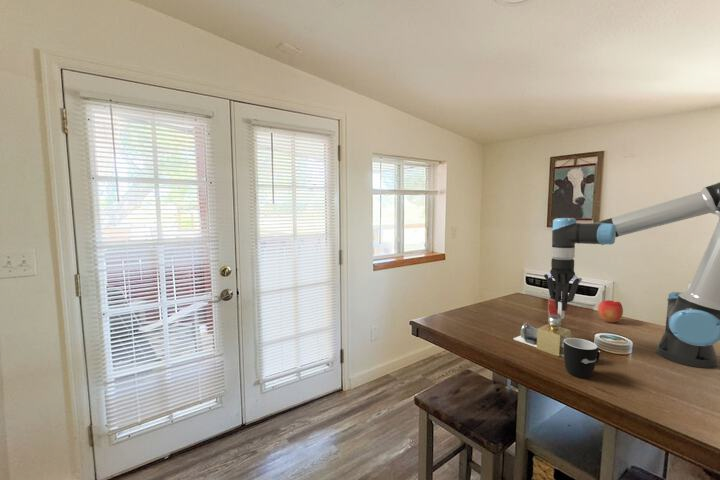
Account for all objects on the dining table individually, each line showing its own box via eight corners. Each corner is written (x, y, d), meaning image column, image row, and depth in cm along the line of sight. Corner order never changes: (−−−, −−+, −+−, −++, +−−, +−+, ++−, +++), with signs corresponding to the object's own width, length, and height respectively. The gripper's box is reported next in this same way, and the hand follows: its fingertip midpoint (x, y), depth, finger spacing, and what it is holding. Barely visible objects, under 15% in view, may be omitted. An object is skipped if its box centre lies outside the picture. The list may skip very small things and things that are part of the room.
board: (600, 352, 122) (600, 351, 122) (581, 363, 114) (582, 362, 113) (533, 331, 142) (533, 330, 142) (513, 339, 134) (513, 338, 134)
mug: (579, 382, 101) (581, 350, 100) (555, 368, 110) (557, 339, 109) (610, 377, 104) (612, 346, 103) (585, 364, 113) (587, 335, 112)
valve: (590, 357, 117) (592, 332, 116) (580, 364, 113) (582, 337, 112) (529, 337, 136) (530, 315, 135) (518, 342, 131) (519, 319, 130)
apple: (625, 322, 152) (627, 301, 151) (617, 326, 147) (619, 304, 146) (601, 316, 160) (602, 296, 159) (592, 320, 155) (594, 299, 153)
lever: (560, 327, 121) (561, 311, 120) (548, 325, 122) (549, 309, 122) (557, 313, 136) (558, 299, 135) (546, 312, 137) (547, 298, 137)
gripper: (585, 259, 124) (583, 320, 126) (550, 255, 135) (548, 312, 136) (576, 260, 120) (574, 324, 122) (540, 257, 130) (539, 316, 132)
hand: (560, 318), depth 129 cm, fingers closed
